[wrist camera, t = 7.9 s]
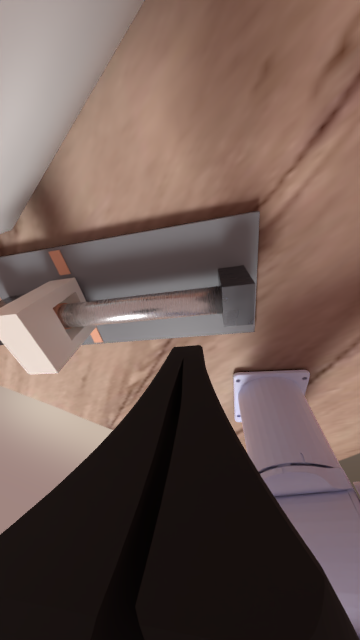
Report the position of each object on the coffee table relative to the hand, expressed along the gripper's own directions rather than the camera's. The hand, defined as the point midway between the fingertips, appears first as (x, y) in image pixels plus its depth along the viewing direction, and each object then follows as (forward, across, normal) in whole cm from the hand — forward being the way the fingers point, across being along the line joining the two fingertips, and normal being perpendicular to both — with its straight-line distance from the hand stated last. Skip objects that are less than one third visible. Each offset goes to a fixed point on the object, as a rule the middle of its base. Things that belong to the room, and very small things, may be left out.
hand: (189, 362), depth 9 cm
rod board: (+9, +7, 0) cm, 12 cm away
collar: (+8, +11, 0) cm, 14 cm away
